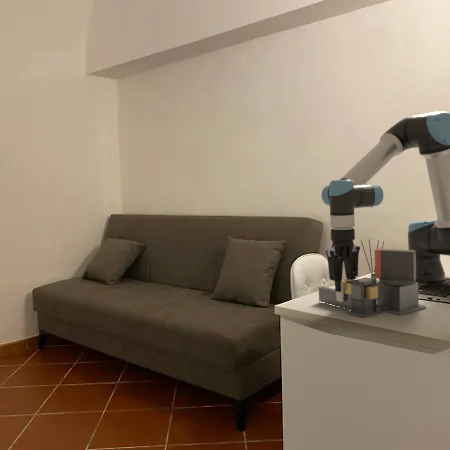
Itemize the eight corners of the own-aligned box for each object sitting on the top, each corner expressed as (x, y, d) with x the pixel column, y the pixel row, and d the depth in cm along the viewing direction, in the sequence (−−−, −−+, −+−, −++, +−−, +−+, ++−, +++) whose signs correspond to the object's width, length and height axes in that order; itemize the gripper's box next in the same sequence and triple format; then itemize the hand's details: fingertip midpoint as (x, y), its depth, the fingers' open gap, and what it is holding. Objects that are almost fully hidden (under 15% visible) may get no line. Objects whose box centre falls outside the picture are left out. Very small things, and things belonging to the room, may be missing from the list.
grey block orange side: (419, 280, 160) (418, 248, 159) (410, 287, 151) (410, 253, 150) (381, 277, 167) (381, 246, 166) (371, 284, 158) (370, 251, 157)
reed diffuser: (359, 295, 178) (357, 239, 176) (366, 291, 183) (365, 237, 182) (387, 298, 172) (386, 240, 170) (394, 294, 177) (393, 238, 176)
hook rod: (344, 290, 164) (343, 279, 164) (378, 297, 152) (378, 286, 152) (337, 291, 162) (337, 281, 162) (371, 299, 151) (371, 287, 150)
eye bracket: (330, 299, 174) (329, 270, 173) (381, 312, 155) (380, 279, 154) (311, 304, 169) (310, 273, 168) (361, 318, 151) (360, 283, 150)
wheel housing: (394, 301, 168) (393, 277, 167) (425, 308, 158) (425, 282, 157) (369, 307, 161) (369, 282, 160) (400, 315, 151) (400, 288, 150)
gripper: (351, 225, 167) (353, 294, 170) (315, 229, 159) (318, 302, 161) (368, 226, 161) (370, 297, 163) (332, 231, 152) (335, 306, 155)
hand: (344, 299), depth 162 cm, fingers closed on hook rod, 3 cm apart
